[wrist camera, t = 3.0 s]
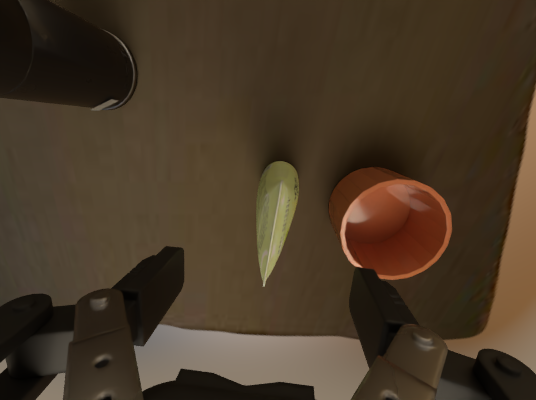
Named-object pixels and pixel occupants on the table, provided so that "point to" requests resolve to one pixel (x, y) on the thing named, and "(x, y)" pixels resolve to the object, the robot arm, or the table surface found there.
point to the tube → (274, 212)
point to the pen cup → (389, 222)
